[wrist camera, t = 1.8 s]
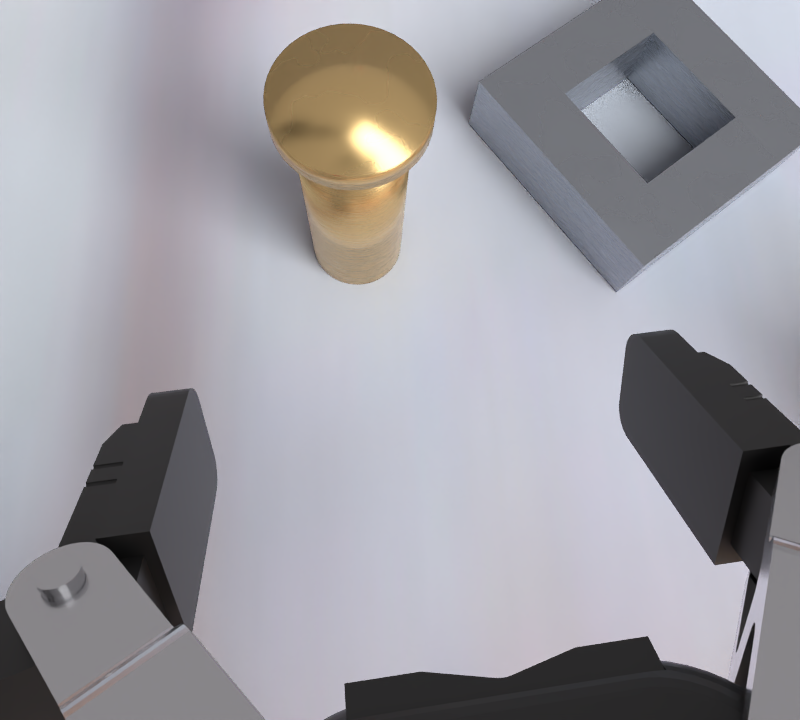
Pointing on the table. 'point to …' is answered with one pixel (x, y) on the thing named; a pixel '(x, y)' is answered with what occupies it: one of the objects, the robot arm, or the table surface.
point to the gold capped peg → (352, 139)
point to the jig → (599, 160)
